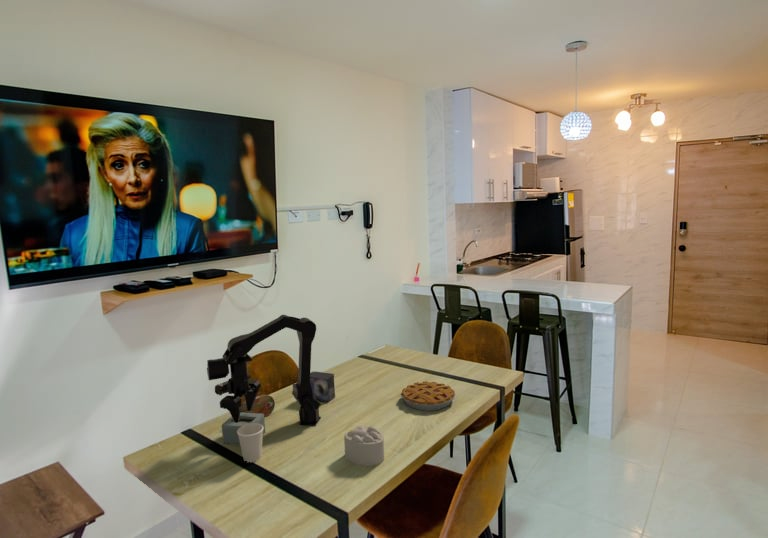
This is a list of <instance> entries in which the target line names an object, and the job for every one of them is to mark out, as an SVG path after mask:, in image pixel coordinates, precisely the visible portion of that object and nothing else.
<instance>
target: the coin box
mask: <svg viewBox="0 0 768 538" xmlns="http://www.w3.org/2000/svg"><path fill="white" fill-rule="evenodd" d="M239 421H252V422H251V423H245V422H238V423H235V422H234V420H233V418H232V416H229V418H228V419H226V420H225V421H224V422H223V423H222V424H221V431H222V443H223V445H232V444H233V446H241V445H240V441H239V437H238V434H237V430H238V429H239V428H240V427H242V426H244V425H247V424H252V423H257V424H261V425H262V426H263V427H264V429H263V435H264V434H265V433H266V424H265V421H266V420H265V417H264V414H259V413H241V412H240V417H239Z"/></svg>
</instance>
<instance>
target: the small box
mask: <svg viewBox="0 0 768 538" xmlns="http://www.w3.org/2000/svg"><path fill="white" fill-rule="evenodd" d="M310 383H311V386H312V390H313V396H314V397H315V398H316V400H317V401H318V402H322V403H330V402H331V401H333V399H335V398H336V392H335V391H336V389H335V373H330V372H321V371H310Z"/></svg>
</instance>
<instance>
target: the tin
mask: <svg viewBox="0 0 768 538" xmlns="http://www.w3.org/2000/svg"><path fill="white" fill-rule="evenodd" d="M275 403H276V402H275V399H274V397H272V396H271V395H268V394H260V395H258V396H256V399H255V401H254V404H253V406H252V409H251V411H248V410H247V405H246V400H243V401H242V402H241V405H242V408H241V413H259V414H264V418H266V417H268V416H269V415H271V414H272V413H273V412H274V409H275V406H276V404H275Z"/></svg>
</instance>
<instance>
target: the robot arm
mask: <svg viewBox="0 0 768 538" xmlns="http://www.w3.org/2000/svg"><path fill="white" fill-rule="evenodd" d="M286 328H287V329H291V330H294V331H296V334H297V338H298V343H299V344H298V345H299V347H298V348H299V349H298V374H297V381H296V383H292V392H291V394H292V396H293V397H294V399H295V400H296V402H297V403H298V404H299V405H300V407H299V410H298V417H299V423H298V425H302V426H316V425H317V424H318V423H319V421H320V420H321V418H322V417H321V416H320V409H319V408H320V405H321V404H320V401H317V400H316V398H315V397H314V396H313V390H312V386H311V383H310V373H311V365H312V364H311V363H312V343H313V341H314V340H315V337H316V333H317V324H316V323H315V322H314V321H312V320H311V319H310V318H307V317H301V318H300V317H295V316H289V315H287V314H281V315H279V316H278V317H277V318H275V319H273V320H271V321H270V322H268V323H266V324H264V325H263V326H261V327H258V328H257V329H255V330H253V331H251V332H249V333H245V334H241V335H237V336H235V337H232V338H231V339H229V341H228V342H227V348H226V350H225V351H224V353H223V354H222V357H221V358H215V359H207V365H206V366H207V367H206V373H207V380H208V381H214V380H218V379H224V378H227V376H228V375H230V378H228V379H227V381H226V380H225V381H224V382H221V383H219V384H216V385H215V386H214V393H215V394H216V395H217V396H222V395H223V394H227V393H228V394H229V395H226V396H225V397H223V398H222V399H221V400H220V401H219V408H220V409H224V410H227V411H228V412H229V413H230V415H231V416H232V418H233V420H234V422H235V423H238V421H239V417H240V412H241V408H242V405H241V403H242V402H243V400H242V397H244V398H245V400H244V401H246V405H247V410H248V411H251V409H252V406H253V404H254V401H255V399H256V397H257V395H258V393H259V392H260V389H261V388H262V384H261V382H260V381H259V380H258V379H256V380H255V379H251V378H252V377H251V374H249V371H248V362H252V361H253V360H254V359H253V357H252V356H251V355H249V354H248V353H249V352H250V351H252V349H253V348H254V347H255V346H256V345H258V344H259V343H261V342H262V341H264V340H266V339H268V338H270V337H271V336H274V335H275V334H277V333H278V332H280V331H282V330H284V329H286ZM232 394H233V395H232ZM231 416H230V417H231Z"/></svg>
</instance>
